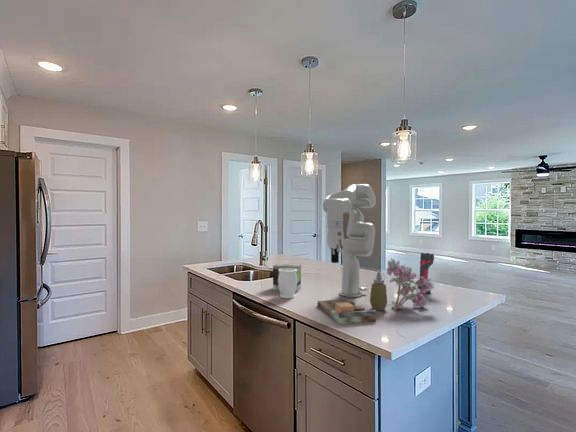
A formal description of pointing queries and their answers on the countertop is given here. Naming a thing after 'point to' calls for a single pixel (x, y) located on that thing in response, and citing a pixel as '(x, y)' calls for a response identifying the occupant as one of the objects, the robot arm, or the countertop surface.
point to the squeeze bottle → (378, 294)
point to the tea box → (278, 266)
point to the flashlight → (425, 265)
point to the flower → (408, 285)
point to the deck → (347, 317)
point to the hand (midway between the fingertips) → (334, 262)
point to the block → (343, 307)
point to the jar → (287, 282)
